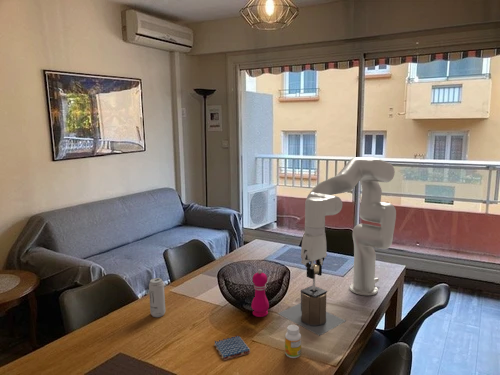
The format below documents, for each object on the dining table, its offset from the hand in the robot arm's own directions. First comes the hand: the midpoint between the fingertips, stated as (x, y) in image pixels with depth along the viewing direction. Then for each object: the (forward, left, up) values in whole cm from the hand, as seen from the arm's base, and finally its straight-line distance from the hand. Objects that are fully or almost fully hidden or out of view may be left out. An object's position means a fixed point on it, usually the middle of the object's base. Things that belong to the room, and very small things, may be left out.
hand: (314, 275), depth 150 cm
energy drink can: (+43, -47, -20) cm, 67 cm away
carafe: (0, 0, -18) cm, 18 cm away
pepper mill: (+12, -18, -20) cm, 29 cm away
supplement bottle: (+21, +9, -20) cm, 30 cm away
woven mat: (+35, -7, -20) cm, 41 cm away
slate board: (-1, -2, -20) cm, 20 cm away
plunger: (0, 0, -16) cm, 16 cm away
